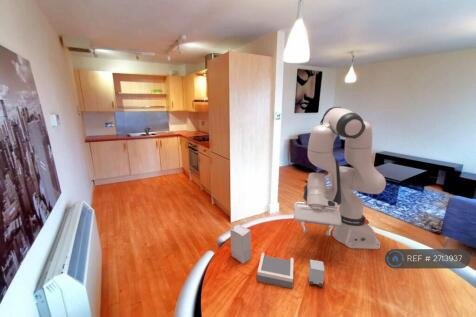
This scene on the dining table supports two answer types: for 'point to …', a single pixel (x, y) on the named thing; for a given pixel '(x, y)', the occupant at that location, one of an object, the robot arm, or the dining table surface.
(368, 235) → the robot arm
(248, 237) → the skincare box
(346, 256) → the dining table surface
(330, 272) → the dining table surface
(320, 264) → the white footed cube
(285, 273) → the dock
